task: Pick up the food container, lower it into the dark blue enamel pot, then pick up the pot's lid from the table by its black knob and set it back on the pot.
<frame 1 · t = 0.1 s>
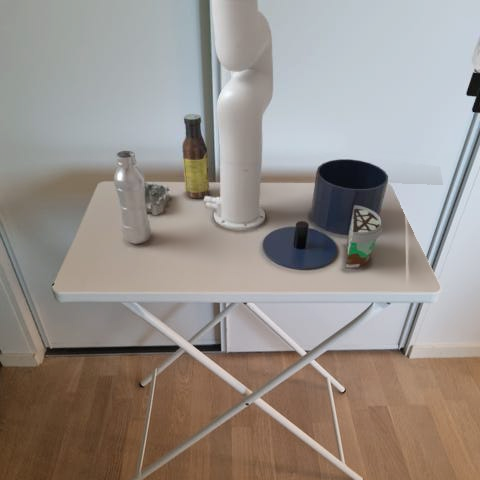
hand: (477, 104, 85), 31 cm above the table, tool pointing down, fingers open, 9 cm apart
food container: (359, 260, 102), on the table
pot: (343, 219, 115), on the table
sauce bottle: (197, 194, 123), on the table
plastic bottle: (138, 240, 106), on the table
grey metal casting: (152, 205, 118), on the table
pot lid: (299, 248, 104), point 1 cm above the table
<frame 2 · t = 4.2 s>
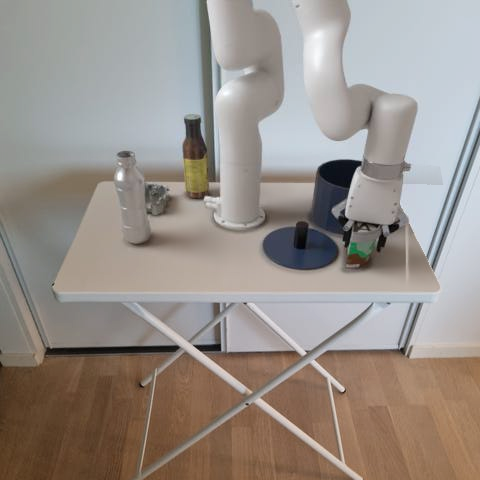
hand: (362, 245, 99), 4 cm above the table, tool pointing down, fingers closed on food container, 6 cm apart
food container: (359, 260, 102), on the table, touching gripper
everything else where it was.
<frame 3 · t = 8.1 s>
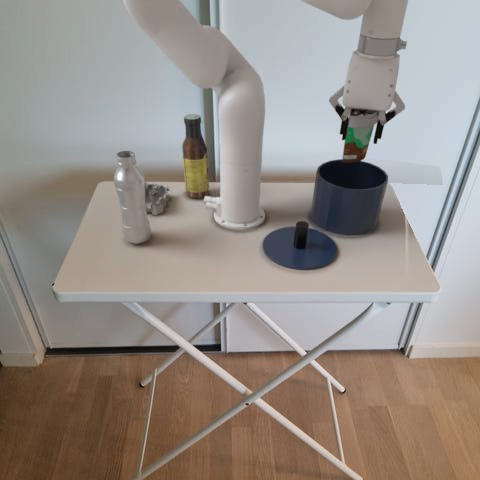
hand: (359, 139, 101), 20 cm above the table, tool pointing down, fingers closed on food container, 6 cm apart
food container: (356, 156, 103), point 16 cm above the table, touching gripper
everything else where it was.
when the fingers open (4 cm above the table, at t = 12.4 s): food container stays where it is, resting on pot.
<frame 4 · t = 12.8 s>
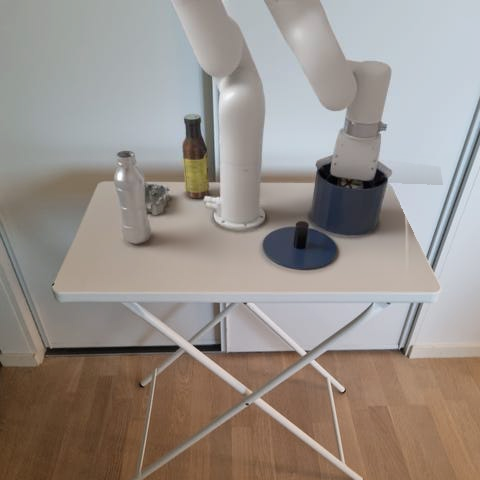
hand: (347, 199, 111), 5 cm above the table, tool pointing down, fingers open, 9 cm apart
food container: (344, 218, 114), resting on pot
everything else where it was.
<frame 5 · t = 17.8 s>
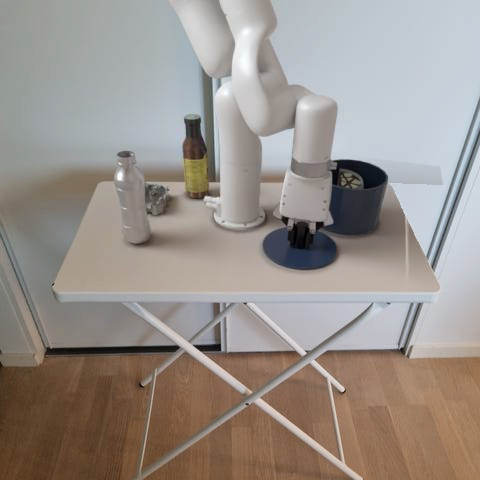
hand: (299, 243, 103), 2 cm above the table, tool pointing down, fingers closed on pot lid, 2 cm apart
pot lid: (299, 248, 104), point 1 cm above the table, touching gripper
everything else where it was.
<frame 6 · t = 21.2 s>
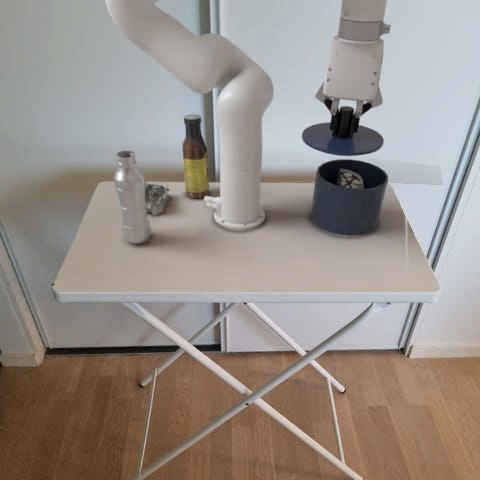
hand: (343, 133, 94), 23 cm above the table, tool pointing down, fingers closed on pot lid, 2 cm apart
pot lid: (342, 139, 95), point 22 cm above the table, touching gripper
everything else where it was.
when the fingers open (13 cm above the table, at t = 24.5 s): pot lid stays where it is, resting on pot.
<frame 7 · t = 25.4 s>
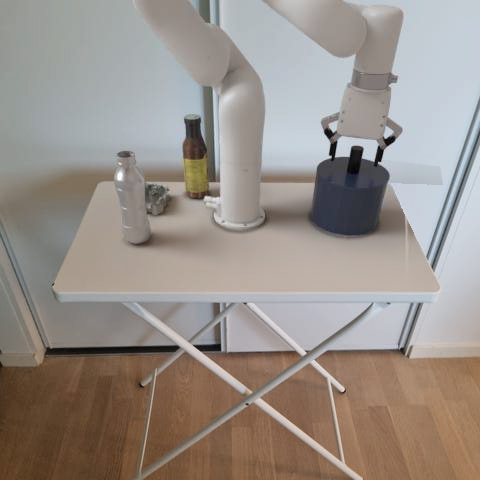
hand: (354, 161, 105), 15 cm above the table, tool pointing down, fingers open, 9 cm apart
pot lid: (352, 173, 106), point 12 cm above the table, touching pot
everything else where it was.
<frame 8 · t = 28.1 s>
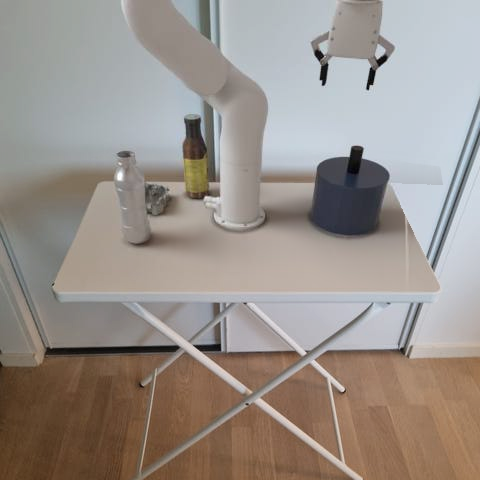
hand: (345, 86, 102), 28 cm above the table, tool pointing down, fingers open, 9 cm apart
nothing on the table moved.
at the end: food container inside the target area in the pot (0.2 cm from its centre), point 0.3 cm above the pot's base; pot lid 0.1 cm off-centre on the pot, point 12.0 cm above the pot's base; pot lid tilted 0° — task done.
